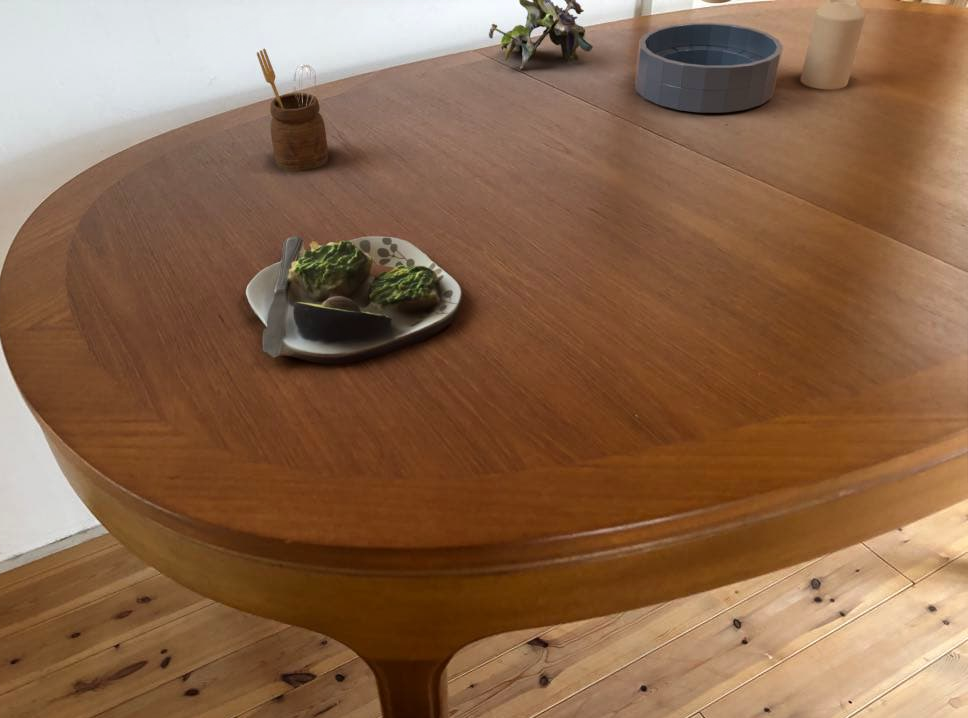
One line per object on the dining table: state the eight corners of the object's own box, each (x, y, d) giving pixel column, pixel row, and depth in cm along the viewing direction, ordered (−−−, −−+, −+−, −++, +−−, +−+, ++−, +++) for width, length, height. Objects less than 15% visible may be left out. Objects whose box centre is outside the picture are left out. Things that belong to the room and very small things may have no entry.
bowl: (759, 70, 115) (768, 22, 111) (783, 119, 102) (795, 67, 98) (630, 70, 117) (635, 23, 113) (639, 119, 104) (645, 67, 100)
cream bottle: (835, 96, 107) (857, 8, 101) (791, 86, 110) (810, 1, 104) (854, 82, 110) (876, -3, 104) (811, 73, 113) (830, -10, 107)
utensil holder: (313, 178, 95) (298, 65, 88) (263, 170, 98) (244, 59, 90) (339, 156, 100) (326, 46, 92) (290, 149, 102) (274, 41, 94)
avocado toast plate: (209, 278, 80) (198, 233, 77) (386, 227, 86) (383, 183, 83) (283, 394, 67) (273, 344, 64) (487, 325, 73) (487, 276, 70)
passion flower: (564, 100, 124) (615, 37, 114) (505, 106, 118) (554, 40, 108) (528, 36, 126) (575, -31, 116) (469, 38, 120) (513, -32, 110)
